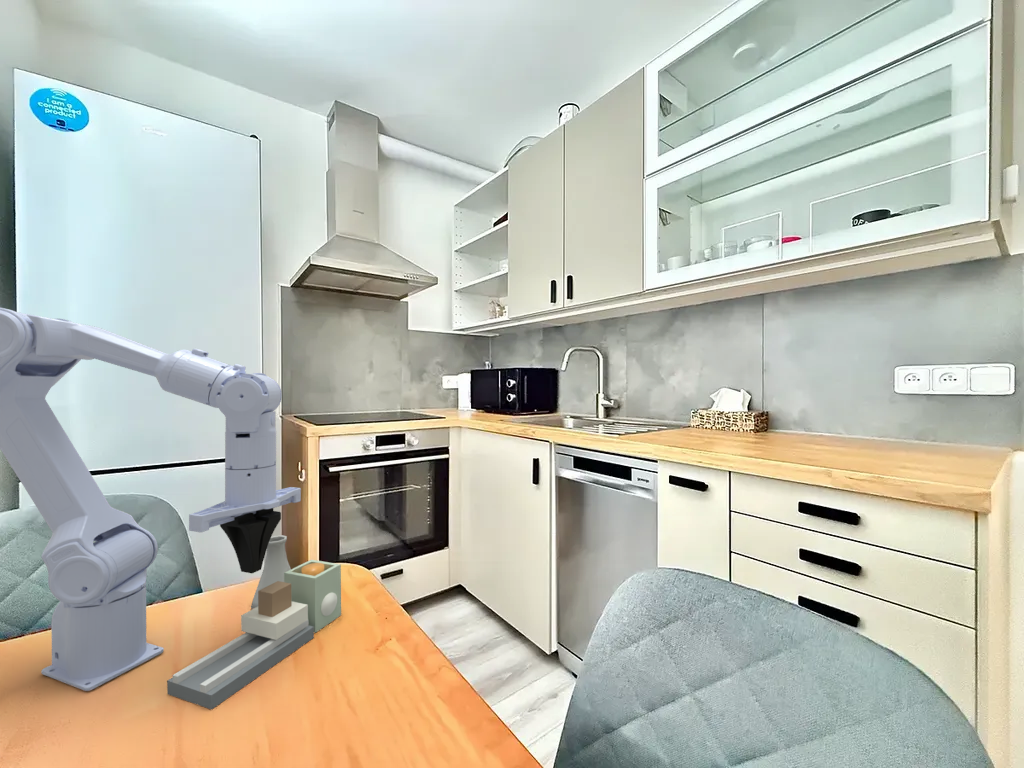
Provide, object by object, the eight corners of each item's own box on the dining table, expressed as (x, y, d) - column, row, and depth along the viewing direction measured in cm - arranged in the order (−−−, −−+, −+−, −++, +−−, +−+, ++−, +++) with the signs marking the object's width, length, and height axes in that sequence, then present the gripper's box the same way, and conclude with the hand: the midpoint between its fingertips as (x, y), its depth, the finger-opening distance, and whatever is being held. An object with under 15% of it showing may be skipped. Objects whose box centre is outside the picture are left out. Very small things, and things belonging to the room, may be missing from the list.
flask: (293, 586, 75) (293, 527, 75) (308, 601, 70) (307, 538, 70) (245, 601, 70) (244, 538, 70) (256, 618, 65) (255, 550, 65)
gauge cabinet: (284, 625, 63) (284, 572, 63) (311, 608, 67) (311, 559, 67) (316, 633, 61) (315, 578, 61) (342, 615, 65) (341, 564, 65)
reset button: (297, 583, 63) (296, 569, 63) (313, 575, 66) (312, 561, 66) (313, 586, 62) (313, 572, 62) (329, 578, 65) (328, 564, 65)
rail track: (167, 694, 49) (167, 673, 49) (275, 628, 62) (274, 611, 62) (211, 709, 46) (211, 687, 46) (313, 637, 60) (313, 620, 60)
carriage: (241, 630, 57) (241, 592, 57) (274, 612, 61) (274, 576, 61) (276, 639, 55) (275, 599, 55) (307, 619, 59) (307, 582, 59)
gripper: (219, 479, 49) (219, 601, 49) (317, 458, 63) (317, 554, 63) (176, 474, 52) (176, 591, 51) (279, 456, 65) (279, 548, 65)
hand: (251, 570), depth 57 cm, fingers closed
